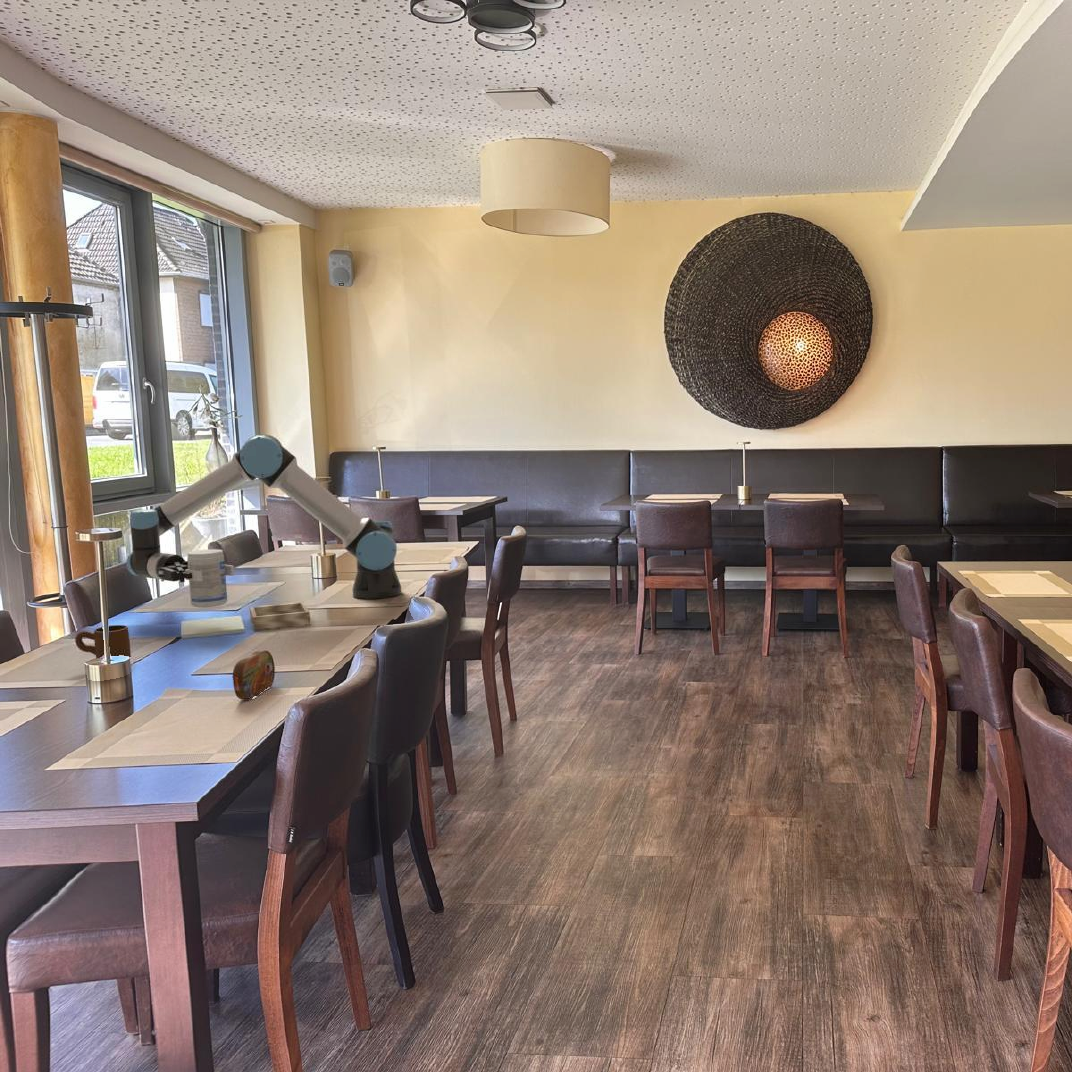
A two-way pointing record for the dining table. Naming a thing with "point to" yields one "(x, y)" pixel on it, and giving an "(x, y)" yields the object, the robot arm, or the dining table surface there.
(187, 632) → the board
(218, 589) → the supplement tub
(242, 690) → the tin
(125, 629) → the mug
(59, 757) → the dining table surface
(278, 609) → the holder frame
